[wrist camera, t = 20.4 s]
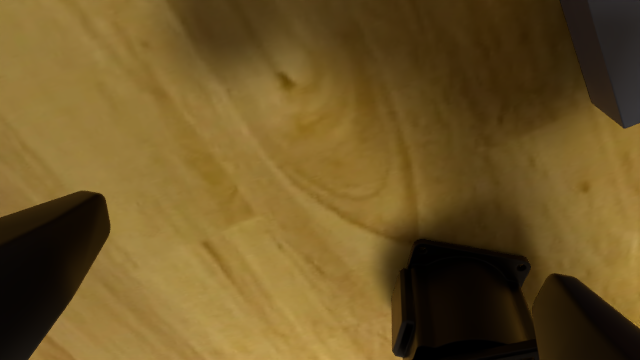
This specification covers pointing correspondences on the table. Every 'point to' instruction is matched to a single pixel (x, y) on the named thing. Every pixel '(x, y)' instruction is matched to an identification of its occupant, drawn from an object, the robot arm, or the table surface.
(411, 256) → the robot arm
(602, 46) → the dark gray flat block
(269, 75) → the table surface
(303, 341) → the table surface
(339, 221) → the table surface
